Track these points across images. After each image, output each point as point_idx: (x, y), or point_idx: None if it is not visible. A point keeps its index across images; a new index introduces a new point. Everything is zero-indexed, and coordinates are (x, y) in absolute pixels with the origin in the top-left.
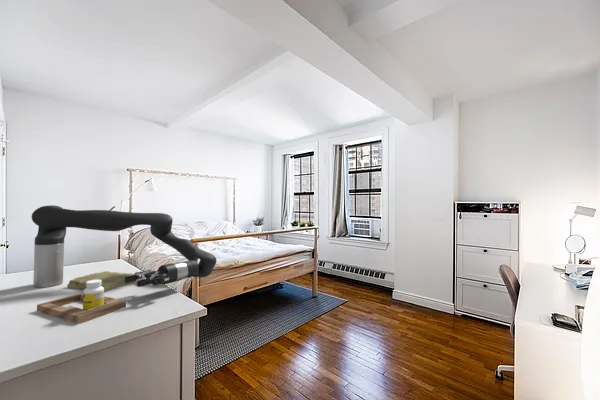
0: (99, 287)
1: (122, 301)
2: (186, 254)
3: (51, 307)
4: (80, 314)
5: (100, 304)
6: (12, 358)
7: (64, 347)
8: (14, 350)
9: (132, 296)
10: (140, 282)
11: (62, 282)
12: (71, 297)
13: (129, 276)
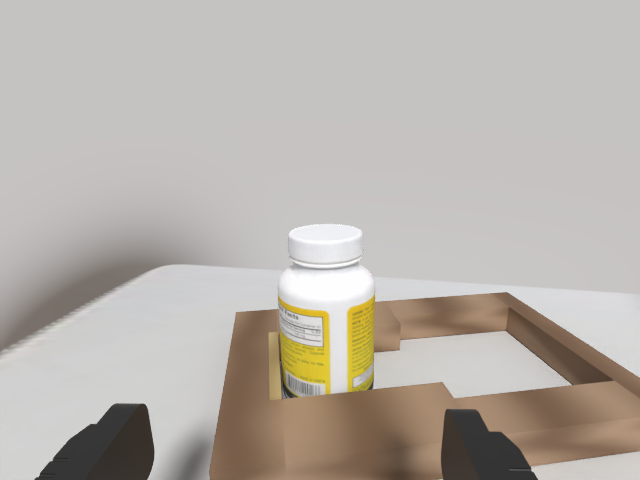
0: (295, 273)
1: (230, 454)
2: None
3: (433, 301)
4: (255, 317)
5: (282, 362)
6: (196, 268)
7: (128, 297)
8: (229, 271)
9: None
10: (89, 429)
11: None
12: (573, 354)
13: (464, 444)
